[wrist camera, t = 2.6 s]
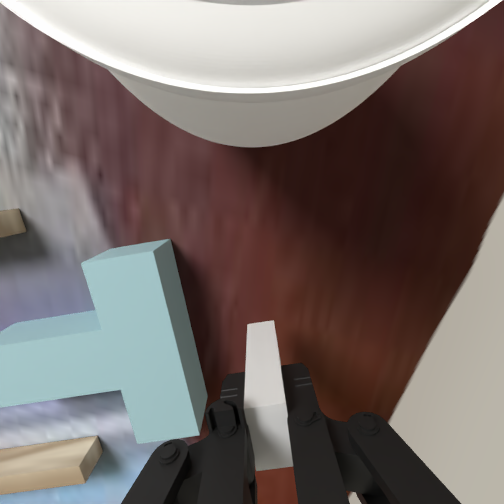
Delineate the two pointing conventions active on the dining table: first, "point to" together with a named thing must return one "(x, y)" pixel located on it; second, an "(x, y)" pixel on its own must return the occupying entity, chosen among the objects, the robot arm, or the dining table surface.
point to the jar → (250, 55)
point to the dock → (47, 454)
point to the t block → (116, 346)
